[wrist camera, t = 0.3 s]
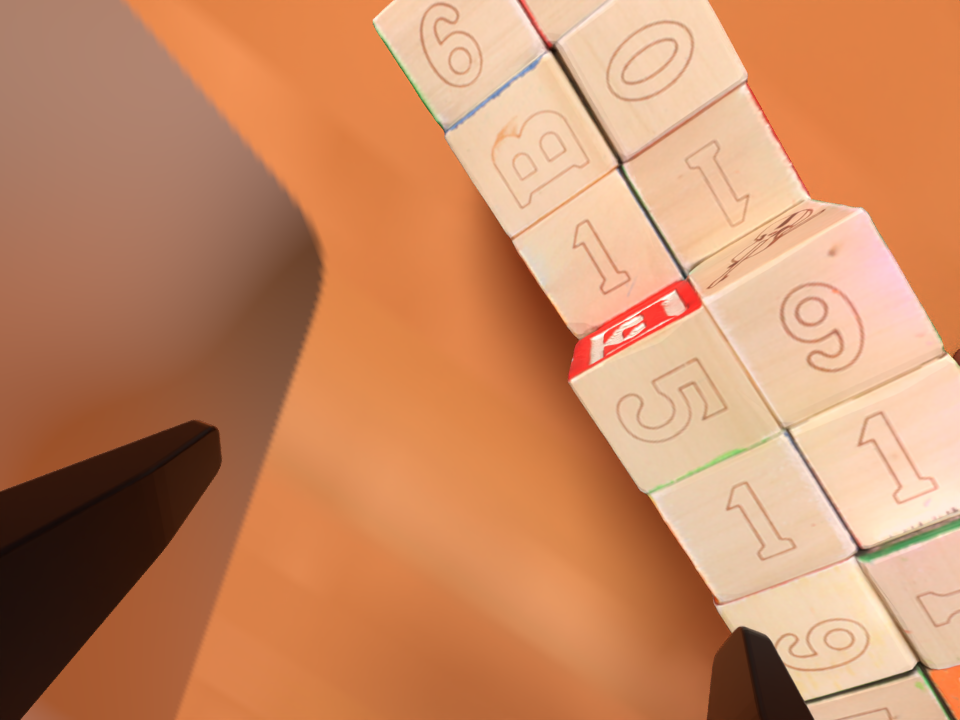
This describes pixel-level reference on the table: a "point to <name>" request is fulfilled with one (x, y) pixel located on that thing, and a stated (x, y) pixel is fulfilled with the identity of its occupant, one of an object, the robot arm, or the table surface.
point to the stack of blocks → (721, 328)
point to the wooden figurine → (957, 357)
